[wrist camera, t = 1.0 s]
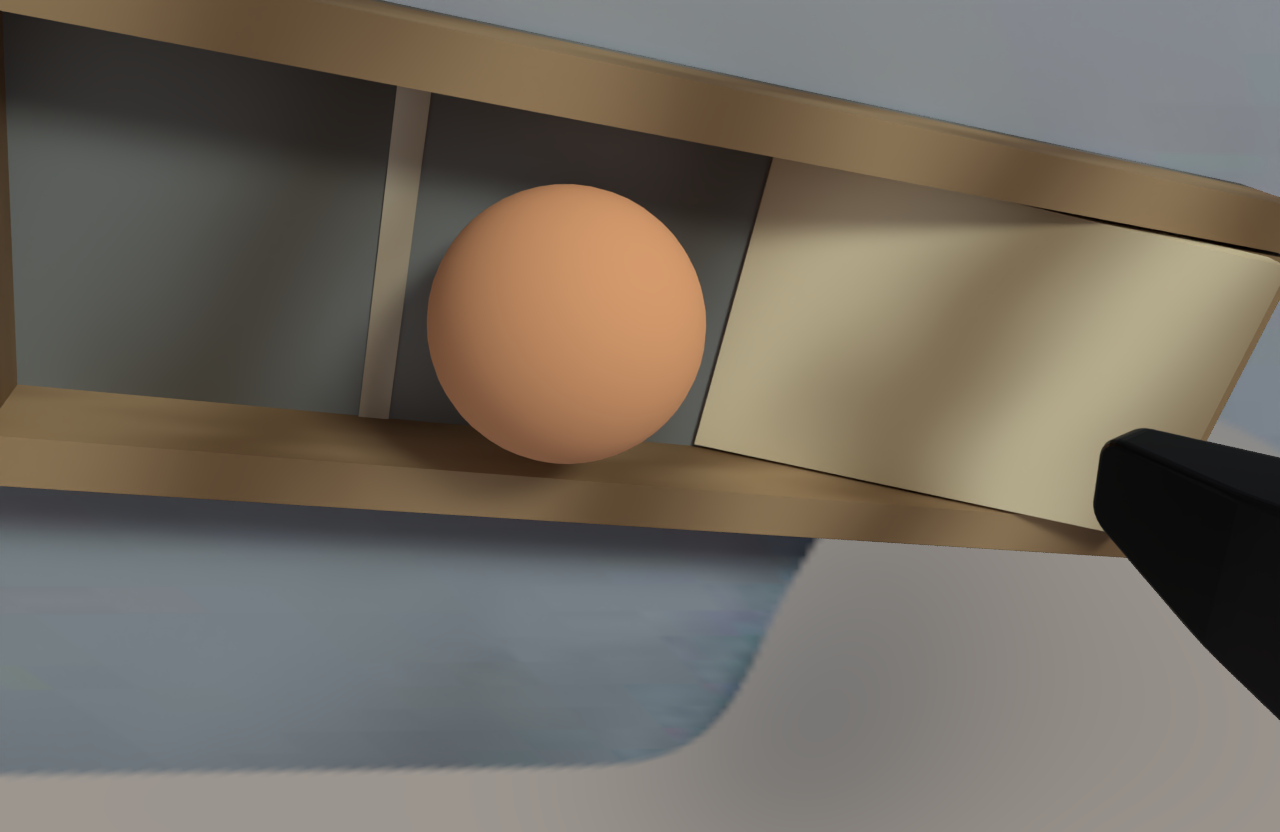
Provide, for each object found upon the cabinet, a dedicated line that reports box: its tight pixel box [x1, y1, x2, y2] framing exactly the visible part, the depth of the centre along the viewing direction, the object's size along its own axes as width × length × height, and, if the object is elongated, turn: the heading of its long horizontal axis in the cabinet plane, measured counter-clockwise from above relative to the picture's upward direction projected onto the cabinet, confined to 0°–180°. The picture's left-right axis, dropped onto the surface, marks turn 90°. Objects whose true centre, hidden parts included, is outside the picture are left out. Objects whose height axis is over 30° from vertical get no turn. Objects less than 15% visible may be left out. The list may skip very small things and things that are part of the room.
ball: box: [427, 184, 706, 464], centre depth 18 cm, size 5×5×5 cm
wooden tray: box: [0, 0, 1280, 558], centre depth 20 cm, size 27×9×5 cm, turn 77°
